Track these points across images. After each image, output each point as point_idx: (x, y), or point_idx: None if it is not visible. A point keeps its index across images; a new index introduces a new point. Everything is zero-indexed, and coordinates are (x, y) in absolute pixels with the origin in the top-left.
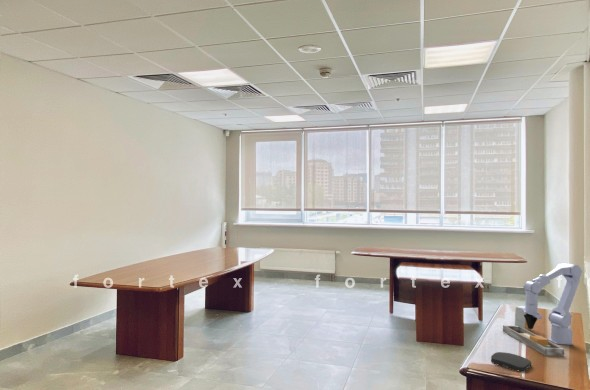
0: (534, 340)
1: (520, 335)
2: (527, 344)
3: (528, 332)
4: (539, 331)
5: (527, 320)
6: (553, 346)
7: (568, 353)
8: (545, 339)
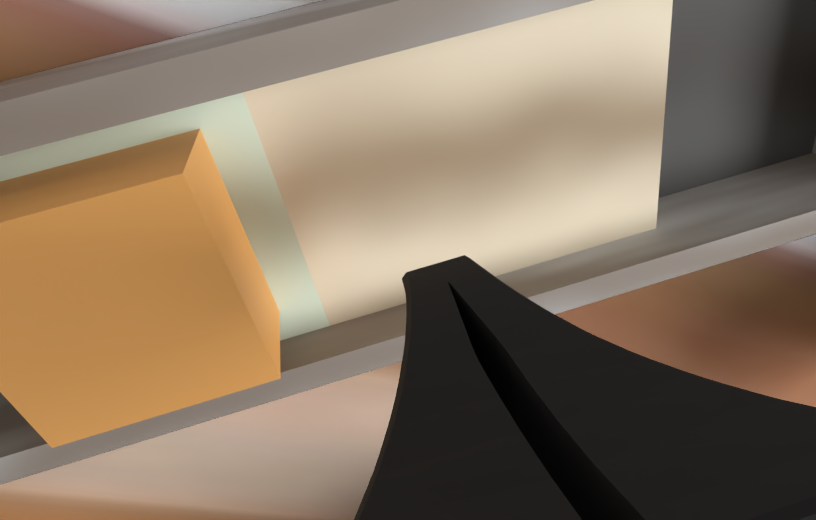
0: (10, 199)
1: (377, 4)
2: (124, 53)
3: (634, 254)
4: (807, 393)
5: (534, 392)
6: (17, 428)
7: (87, 498)
8: (31, 411)
